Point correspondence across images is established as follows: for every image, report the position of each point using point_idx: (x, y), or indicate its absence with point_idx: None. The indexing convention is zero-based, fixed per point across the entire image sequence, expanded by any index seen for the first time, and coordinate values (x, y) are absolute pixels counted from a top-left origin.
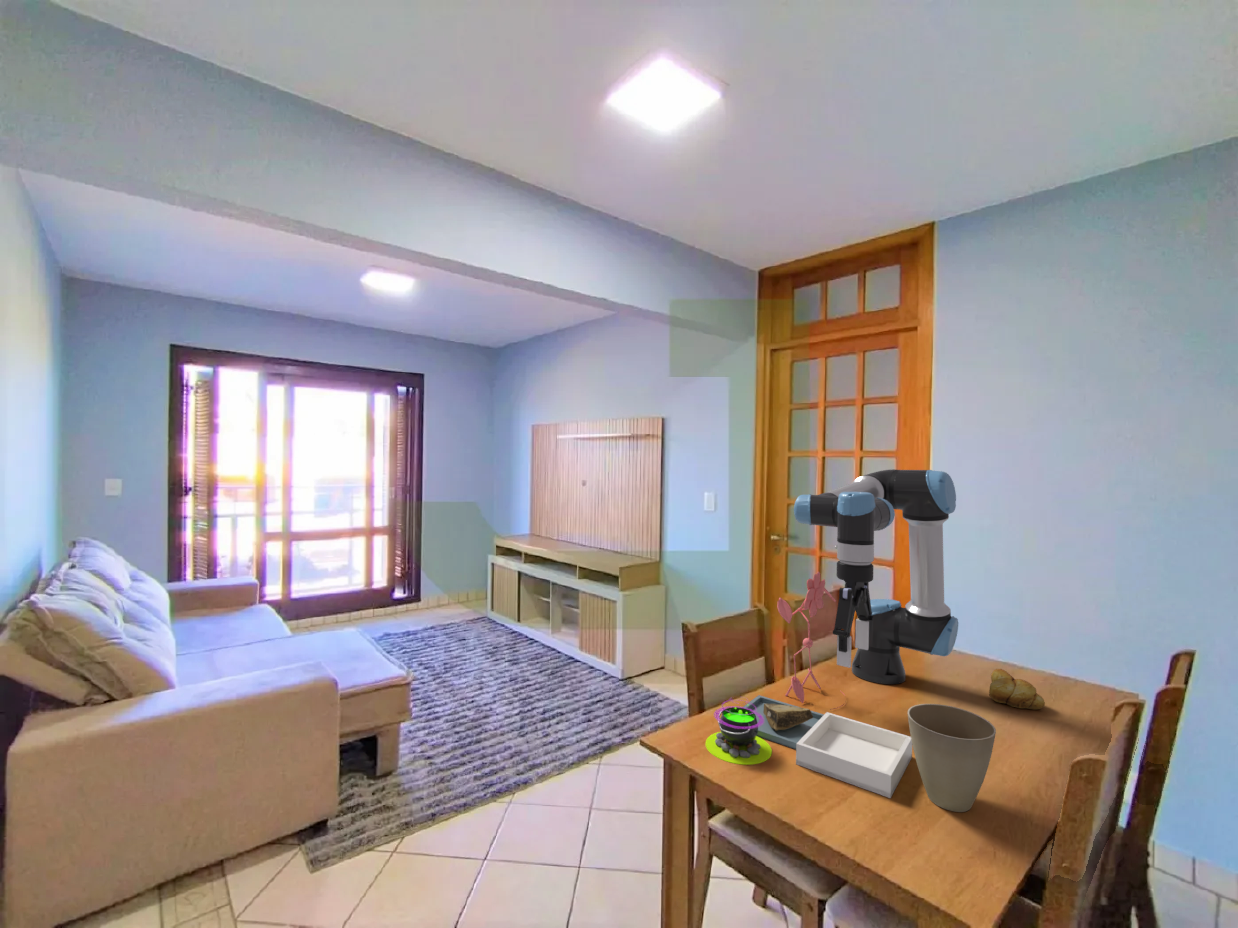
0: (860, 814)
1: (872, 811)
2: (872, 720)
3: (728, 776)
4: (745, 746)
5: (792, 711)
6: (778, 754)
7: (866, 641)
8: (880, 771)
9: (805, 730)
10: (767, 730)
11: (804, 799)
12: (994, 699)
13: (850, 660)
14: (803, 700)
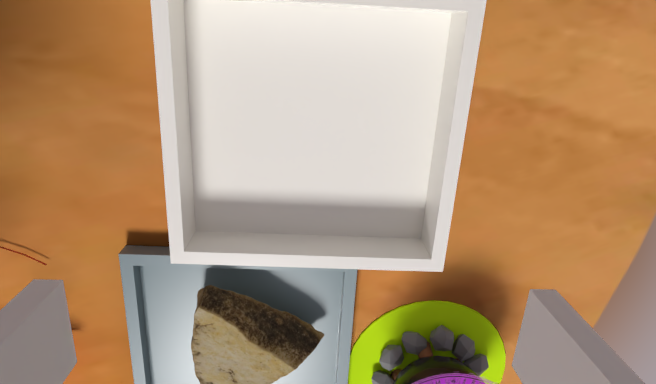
0: (579, 53)
1: (551, 29)
2: (3, 141)
3: None
4: (417, 357)
5: (251, 339)
6: (405, 290)
7: (23, 335)
8: (478, 29)
9: (237, 278)
10: None
11: (576, 181)
12: None
13: (572, 320)
14: None
